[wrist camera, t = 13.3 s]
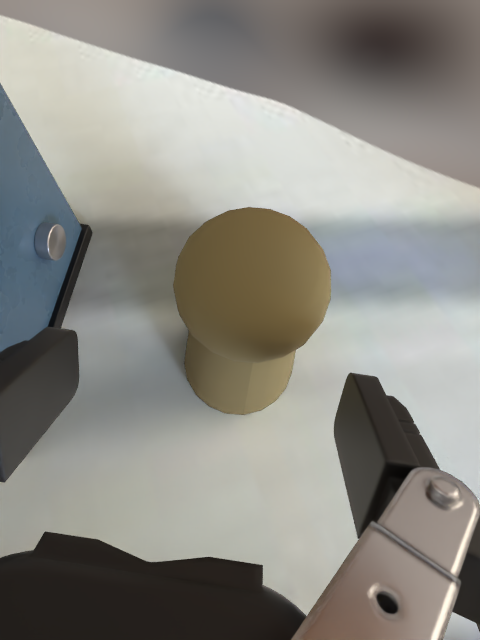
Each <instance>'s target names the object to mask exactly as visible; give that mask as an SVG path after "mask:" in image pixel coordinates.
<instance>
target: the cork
mask: <svg viewBox="0 0 480 640" xmlns="http://www.w3.org/2000/svg"><path fill="white" fill-rule="evenodd" d="M173 288H174V293H175V297H176V302H177V307H178V311H179V314H180V317H181V318H182V320H183V322H184V323H185V325H186V327H187V328H188V330H189V335H188V340H187V346H186V353H185V361H184V365H185V370H186V375H187V380H188V382H189V383H190V385H191V387H192V388H193V390H194V392H195V394H196V395H197V396H198V397H199V398H200V399H202V400H203V401H204V402H205V403H206V404H207V405H208V406H210V407H212V408H214V409H217V410H219V411H221V412H224V413H228V414H241V415H244V414H249V413H253V412H257V411H261V410H262V409H264V408H265V407H267V406H269V405H270V404H272V403H273V402H275V401H276V400H277V399H278V397H279V396H280V395H281V394H282V392H283V391H284V390H285V389H286V387H287V384H288V381H289V378H290V376H291V373H292V368H293V363H294V357H295V352H296V349H298V348H299V347H301V346H303V345H304V344H305V343H306V342H307V340H308V339H309V338H310V337H311V335H312V334H313V333H314V332H315V331H316V329H317V328H318V327H319V326H320V324H321V323H322V322H323V319H324V316H325V314H326V311H327V308H328V305H329V302H330V297H331V270H330V267H329V264H328V262H327V259H326V256H325V254H324V251H323V249H322V248H321V246H320V245H319V244H318V242H317V241H316V240H315V239H314V237H313V236H312V235H311V234H310V232H309V231H308V230H307V228H305V227H304V226H302V225H301V224H300V223H298V222H297V221H295V220H294V219H293V218H291V217H290V216H287V215H284V214H282V213H279V212H276V211H273V210H271V209H262V208H252V207H247V208H242V209H236V210H230V211H227V212H225V213H223V214H221V215H218V216H216V217H214V218H212V219H210V220H208V221H207V222H205V223H204V224H203V225H202V226H201V227H200V228H199V229H198V230H196V231H195V232H194V233H193V234H192V235H191V236H190V237H189V238H188V240H187V242H186V244H185V246H184V248H183V249H182V251H181V253H180V255H179V257H178V260H177V264H176V270H175V277H174V283H173Z"/></svg>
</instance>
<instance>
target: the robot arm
mask: <svg viewBox="0 0 480 640" xmlns="http://www.w3.org/2000/svg"><path fill="white" fill-rule="evenodd" d="M78 383H79V360H78V338H77V334H76V332H75V331H73V330H67V329H61V328H54V327H46V328H44V329H43V330H42V331H40V332H39V333H38V334H36V335H35V336H34V337H33V338H31V339H30V340H29V341H28V340H25V341H22V342H20V343H17V344H15V345H12V346H10V347H7V348H6V349H4V350H3V351H2V352H0V482H5V481H6V480H7V479H8V478H9V476H10V475H11V474H12V473H13V471H14V470H15V469H16V468H17V467H18V465H19V464H20V463H21V462H22V460H23V459H24V458H25V457H26V455H27V454H28V453H29V452H30V450H31V449H32V448H33V447H34V445H35V444H36V443H37V442H38V440H39V439H40V438H41V437H42V435H43V434H44V433H45V432H46V430H47V429H48V428H49V427H50V425H51V424H52V423H53V422H54V420H55V419H56V418H57V417H58V415H59V414H60V413H61V412H62V410H63V409H64V408H65V407H66V405H67V404H68V403H69V402H70V400H71V399H72V398H73V396H74V395H75V393H76V390H77V387H78ZM419 433H420V432H419V430H418V428H417V426H416V425H415V424H414V421H413V419H412V417H411V415H410V414H409V412H408V410H407V408H406V407H404V406H403V405H402V404H401V403H400V402H399V401H398V400H397V399H396V398H395V397H394V396H387V395H386V394H385V392H384V390H383V388H382V386H381V384H380V382H379V380H378V378H377V377H375V376H368V375H362V374H355V373H350V374H349V375H348V376H347V379H346V382H345V385H344V389H343V392H342V396H341V399H340V403H339V406H338V410H337V413H336V417H335V422H334V438H335V442H336V447H337V451H338V455H339V459H340V464H341V468H342V472H343V477H344V481H345V485H346V489H347V494H348V498H349V502H350V506H351V511H352V515H353V519H354V524H355V528H356V532H357V536H358V539H359V540H358V541H357V543H356V544H355V546H354V547H353V549H352V550H351V552H350V553H349V555H348V556H347V558H346V559H345V561H344V562H343V564H342V565H341V567H340V568H339V570H338V571H337V573H336V574H335V575H334V577H333V578H332V580H331V581H330V583H329V584H328V586H327V587H326V589H325V590H324V592H323V593H322V595H321V596H320V598H319V599H318V601H317V602H316V604H315V605H314V607H313V608H312V609H311V611H310V612H309V614H308V615H307V616H306V615H305V614H304V613H303V612H302V611H301V610H300V609H299V608H298V607H296V606H295V605H294V604H293V603H292V602H290V601H289V600H288V599H286V598H285V597H284V596H282V595H281V594H279V593H277V592H276V591H274V590H272V589H270V588H268V587H266V586H264V585H262V584H263V565H258V564H251V563H245V562H238V561H232V560H226V559H219V558H213V557H204V558H193V559H183V560H173V561H163V562H147V561H144V560H142V559H140V558H137V557H135V556H133V555H131V554H129V553H126V552H124V551H122V550H120V549H118V548H115V547H113V546H111V545H109V544H107V543H104V542H102V541H100V540H97V539H90V538H84V537H77V536H71V535H64V534H58V533H52V532H44V534H43V536H42V537H41V539H40V541H39V542H38V544H37V546H36V548H35V549H34V550H32V551H25V552H20V553H16V554H11V555H8V556H5V557H2V558H0V640H443V638H444V635H445V632H446V629H447V626H448V623H449V619H450V616H451V613H452V612H454V613H456V614H459V615H461V616H463V617H465V618H467V619H469V620H471V621H473V622H475V623H476V624H477V626H478V629H479V631H480V505H479V502H478V500H477V498H476V496H475V495H474V494H473V492H472V491H471V490H470V489H469V488H468V487H467V486H466V485H465V484H464V483H462V482H461V481H460V480H458V479H457V478H455V477H454V476H452V475H450V474H448V473H446V472H444V471H441V470H440V469H439V467H438V465H437V463H436V461H435V459H434V458H433V456H432V454H431V452H430V450H429V448H428V447H427V445H426V443H425V441H424V439H423V437H422V436H421V435H420V434H419Z"/></svg>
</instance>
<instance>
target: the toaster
mask: <svg viewBox="0 0 480 640" xmlns="http://www.w3.org/2000/svg"><path fill="white" fill-rule="evenodd" d="M91 235H92V230H91V228H90V227H89V225H85V224H79V222H78V220H77V218H76V217H75V215H74V213H73V211H72V210H71V208H70V206H69V204H68V203H67V201H66V199H65V197H64V195H63V194H62V192H61V190H60V188H59V187H58V185H57V183H56V181H55V179H54V178H53V176H52V174H51V172H50V171H49V169H48V167H47V165H46V163H45V162H44V160H43V158H42V156H41V155H40V153H39V151H38V149H37V147H36V146H35V144H34V142H33V140H32V139H31V137H30V135H29V133H28V131H27V130H26V128H25V126H24V124H23V123H22V121H21V119H20V117H19V115H18V114H17V112H16V110H15V108H14V107H13V105H12V103H11V101H10V99H9V98H8V96H7V94H6V92H5V91H4V89H3V87H2V85H1V83H0V352H2V351H3V350H4V349H6V348H7V347H10V346H12V345H15V344H17V343H20V342H22V341H25V340H28V341H29V340H30V339H31V338H33V337H34V336H35V335H36V334H38V333H39V332H40V331H42V330H43V329H44V328H46V327H54V328H61V325H62V322H63V319H64V316H65V313H66V310H67V307H68V304H69V301H70V298H71V295H72V292H73V289H74V286H75V283H76V280H77V277H78V274H79V271H80V268H81V265H82V262H83V259H84V256H85V253H86V250H87V247H88V244H89V241H90V238H91Z"/></svg>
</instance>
